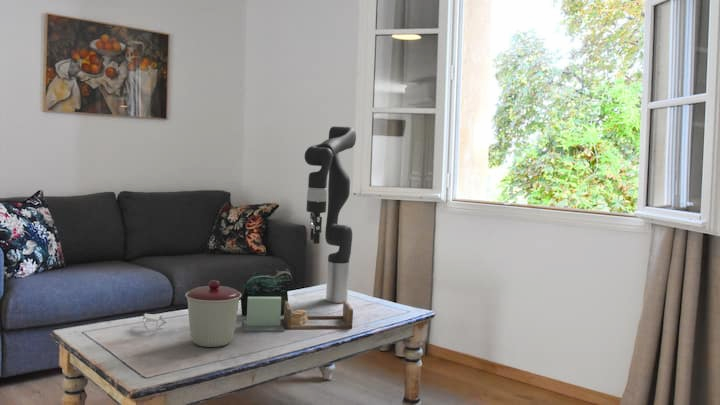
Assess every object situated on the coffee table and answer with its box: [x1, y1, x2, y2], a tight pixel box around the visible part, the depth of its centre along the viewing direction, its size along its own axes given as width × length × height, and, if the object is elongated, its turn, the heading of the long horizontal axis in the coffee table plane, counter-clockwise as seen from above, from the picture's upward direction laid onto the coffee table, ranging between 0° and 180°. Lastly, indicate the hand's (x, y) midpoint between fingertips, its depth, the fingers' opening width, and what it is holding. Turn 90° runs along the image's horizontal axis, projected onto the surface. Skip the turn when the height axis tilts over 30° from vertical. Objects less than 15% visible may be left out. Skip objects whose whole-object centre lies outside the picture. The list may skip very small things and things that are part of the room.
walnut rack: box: [283, 300, 354, 330], centre depth 242 cm, size 14×24×7 cm, turn 102°
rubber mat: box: [242, 318, 285, 333], centre depth 235 cm, size 14×14×1 cm
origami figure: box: [142, 313, 168, 335], centre depth 224 cm, size 12×8×5 cm
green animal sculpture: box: [240, 263, 293, 317], centre depth 250 cm, size 20×6×20 cm, turn 108°
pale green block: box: [246, 297, 282, 326], centre depth 235 cm, size 3×12×10 cm, turn 102°
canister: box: [184, 279, 242, 348], centre depth 212 cm, size 18×18×21 cm
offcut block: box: [290, 309, 309, 326], centre depth 241 cm, size 8×4×4 cm, turn 166°
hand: (314, 241), depth 246 cm, fingers open, 8 cm apart
